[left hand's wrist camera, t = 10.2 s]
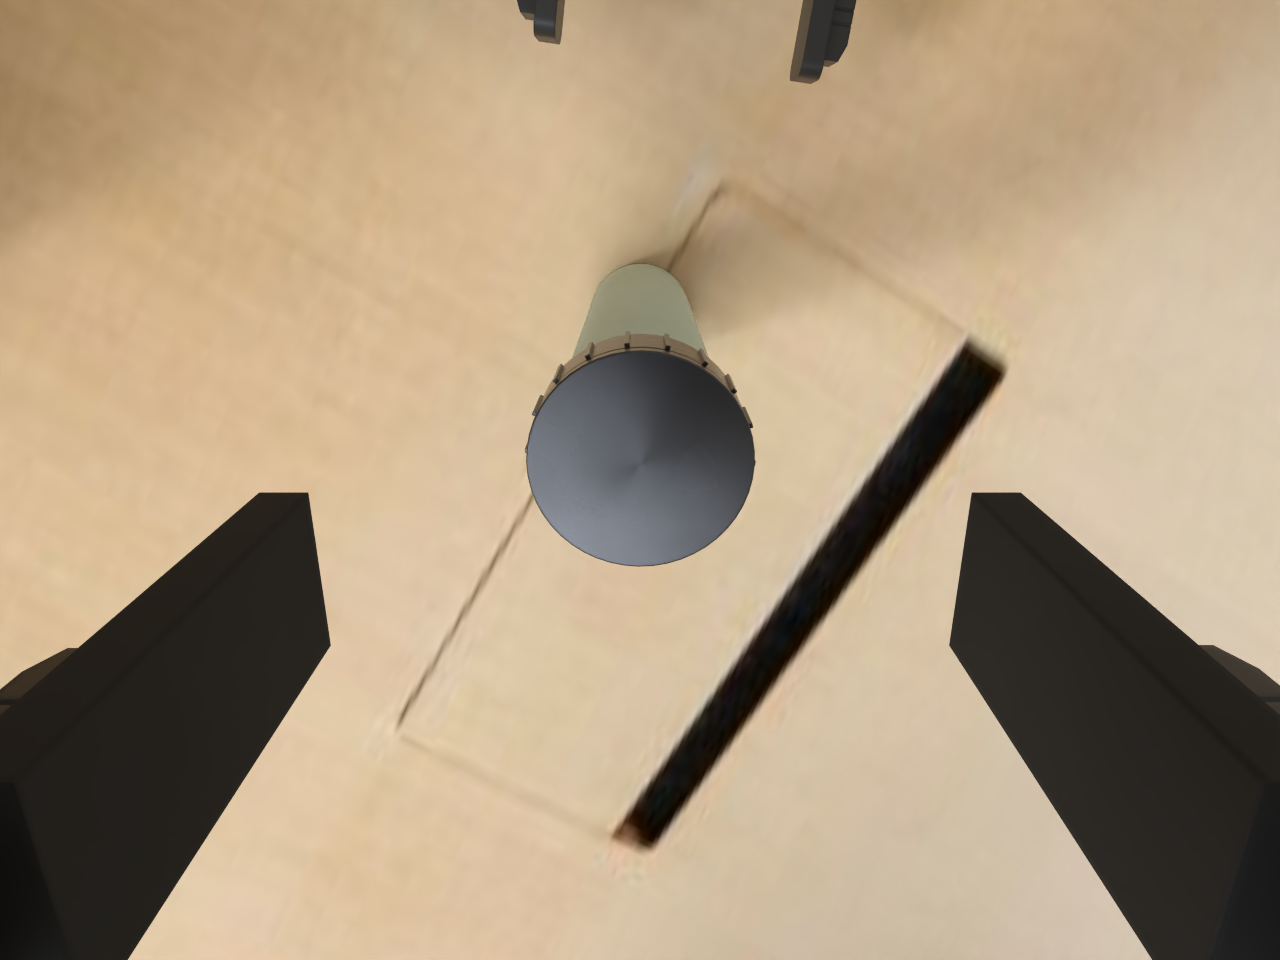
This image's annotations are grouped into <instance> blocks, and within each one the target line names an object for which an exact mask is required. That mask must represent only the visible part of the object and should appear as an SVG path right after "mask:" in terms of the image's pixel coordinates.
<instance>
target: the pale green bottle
mask: <svg viewBox="0 0 1280 960" xmlns="http://www.w3.org/2000/svg"><path fill="white" fill-rule="evenodd" d="M626 331H630V334H651V335H659V336H664V333H666V334H669V338H672V339H675V340H678V341H680V342H683V343H685V344H687V345H689V346H691V347H693V348H695V349H697V350H698V351H699V349H700V348H701V349H703V350H704V352H705V355H706V356H707V357H708V355H707V352H706V349H705V346H704V343H703V341H702V338H701V335H700V332H699V329H698V327H697V324H696V321H695V318H694V316H693V313H692V310H691V307H690V304H689V302H688V299H687V296H686V294H685V292H684V289H683V288H682V286H681V285H680V283H679V282H678V281H677V280H676V279H675V278H674V277H673V276H672V275H671V274H670V273H668V272H667V271H665V270H663V269H662V268H659V267H657V266H654V265H649V264H631V265H627V266H624V267H621V268H619V269H617V270H615V271H614V272H612V273H611V274H609V275H608V276H607V277H606V278H605V279H604V280H603V281H602V283H601V284H600V285H599V287H598V289H597V291H596V293H595V295H594V298H593V300H592V303H591V306H590V309H589V312H588V315H587V317H586V320H585V323H584V326H583V329H582V332H581V334H580V337H579V340H578V343H577V346H576V348H575V351H574V354H573V357H574V356H575V355H577V354H578V353H580V352H581V351H583V350H585V349H586V348H587V346H588V343H590V342H593V344H596V343H598V342H600V341H603V340H606V339H609V338H613V337H617V336H622V335H625V332H626ZM573 357H572V358H573ZM708 358H709V357H708Z"/></svg>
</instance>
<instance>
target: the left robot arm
mask: <svg viewBox="0 0 1280 960" xmlns="http://www.w3.org/2000/svg"><path fill="white" fill-rule="evenodd" d="M330 646H331V644H330V637H329V631H328V624H327V617H326V610H325V604H324V597H323V590H322V583H321V576H320V570H319V563H318V556H317V549H316V542H315V536H314V529H313V522H312V515H311V509H310V502H309V495H308V493H258V494H257V495H256V496H255V497H254V498H253V499H251V500H250V501H249V502H248V503H247V504H246V505H244V506H243V507H242V508H241V509H240V510H239V511H237V512H236V513H235V514H234V515H233V516H232V517H230V518H229V519H228V520H227V521H226V522H225V523H223V524H222V525H221V526H220V527H219V528H218V529H216V530H215V531H214V532H213V533H212V534H211V535H209V536H208V537H207V538H206V539H205V540H204V541H202V542H201V543H200V544H199V545H198V546H197V547H195V548H194V549H193V550H192V551H191V552H190V553H188V554H187V555H186V556H185V557H184V558H183V559H181V560H180V561H179V562H178V563H177V564H176V565H174V566H173V567H172V568H171V569H170V570H169V571H167V572H166V573H165V574H164V575H163V576H162V577H160V578H159V579H158V580H157V581H156V582H155V583H153V584H152V585H151V586H150V587H149V588H148V589H146V590H145V591H144V592H143V593H142V594H141V595H139V596H138V597H137V598H136V599H135V600H134V601H132V602H131V603H130V604H129V605H128V606H127V607H125V608H124V609H123V610H122V611H121V612H120V613H118V614H117V615H116V616H115V617H114V618H113V619H111V620H110V621H109V622H108V623H107V624H106V625H104V626H103V627H102V628H101V629H100V630H99V631H97V632H96V633H95V634H94V635H93V636H92V637H90V638H89V639H88V640H87V641H86V642H85V643H83V644H82V645H81V646H80V647H79V648H67V649H65V650H63V651H61V652H59V653H57V654H55V655H53V656H52V657H50V658H48V659H46V660H44V661H42V662H40V663H38V664H36V665H34V666H32V667H30V668H28V669H26V670H24V671H23V672H21V673H20V674H19V675H17V676H16V677H15V678H14V679H13V680H11V681H10V682H9V683H8V684H6V685H5V686H4V687H3V688H1V689H0V960H128V958H129V957H130V955H131V954H132V952H133V951H134V949H135V947H136V946H137V944H138V943H139V941H140V940H141V938H142V937H143V935H144V934H145V932H146V930H147V929H148V927H149V926H150V924H151V923H152V921H153V920H154V918H155V917H156V915H157V913H158V912H159V910H160V909H161V907H162V906H163V904H164V903H165V901H166V899H167V898H168V896H169V895H170V893H171V892H172V890H173V889H174V887H175V886H176V884H177V882H178V881H179V879H180V878H181V876H182V875H183V873H184V872H185V870H186V869H187V867H188V865H189V864H190V862H191V861H192V859H193V858H194V856H195V855H196V853H197V851H198V850H199V848H200V847H201V845H202V844H203V842H204V841H205V839H206V838H207V836H208V834H209V833H210V831H211V830H212V828H213V827H214V825H215V824H216V822H217V821H218V819H219V817H220V816H221V814H222V813H223V811H224V810H225V808H226V807H227V805H228V803H229V802H230V800H231V799H232V797H233V796H234V794H235V793H236V791H237V790H238V788H239V786H240V785H241V783H242V782H243V780H244V779H245V777H246V776H247V774H248V773H249V771H250V769H251V768H252V766H253V765H254V763H255V762H256V760H257V759H258V757H259V755H260V754H261V752H262V751H263V749H264V748H265V746H266V745H267V743H268V742H269V740H270V738H271V737H272V735H273V734H274V732H275V731H276V729H277V728H278V726H279V725H280V723H281V721H282V720H283V718H284V717H285V715H286V714H287V712H288V711H289V709H290V707H291V706H292V704H293V703H294V701H295V700H296V698H297V697H298V695H299V694H300V692H301V690H302V689H303V687H304V686H305V684H306V683H307V681H308V680H309V678H310V677H311V675H312V673H313V672H314V670H315V669H316V667H317V666H318V664H319V663H320V661H321V659H322V658H323V656H324V655H325V653H326V652H327V650H328V649H329V647H330ZM949 646H950V647H951V649H952V650H953V652H954V653H955V655H956V656H957V658H958V659H959V661H960V663H961V664H962V666H963V667H964V669H965V670H966V672H967V673H968V675H969V677H970V678H971V680H972V681H973V683H974V684H975V686H976V687H977V689H978V690H979V692H980V694H981V695H982V697H983V698H984V700H985V701H986V703H987V704H988V706H989V707H990V709H991V711H992V712H993V714H994V715H995V717H996V718H997V720H998V721H999V723H1000V725H1001V726H1002V728H1003V729H1004V731H1005V732H1006V734H1007V735H1008V737H1009V738H1010V740H1011V742H1012V743H1013V745H1014V746H1015V748H1016V749H1017V751H1018V752H1019V754H1020V755H1021V757H1022V759H1023V760H1024V762H1025V763H1026V765H1027V766H1028V768H1029V769H1030V771H1031V773H1032V774H1033V776H1034V777H1035V779H1036V780H1037V782H1038V783H1039V785H1040V786H1041V788H1042V790H1043V791H1044V793H1045V794H1046V796H1047V797H1048V799H1049V800H1050V802H1051V803H1052V805H1053V807H1054V808H1055V810H1056V811H1057V813H1058V814H1059V816H1060V817H1061V819H1062V821H1063V822H1064V824H1065V825H1066V827H1067V828H1068V830H1069V831H1070V833H1071V834H1072V836H1073V838H1074V839H1075V841H1076V842H1077V844H1078V845H1079V847H1080V848H1081V850H1082V851H1083V853H1084V855H1085V856H1086V858H1087V859H1088V861H1089V862H1090V864H1091V865H1092V867H1093V869H1094V870H1095V872H1096V873H1097V875H1098V876H1099V878H1100V879H1101V881H1102V882H1103V884H1104V886H1105V887H1106V889H1107V890H1108V892H1109V893H1110V895H1111V896H1112V898H1113V899H1114V901H1115V903H1116V904H1117V906H1118V907H1119V909H1120V910H1121V912H1122V913H1123V915H1124V917H1125V918H1126V920H1127V921H1128V923H1129V924H1130V926H1131V927H1132V929H1133V930H1134V932H1135V934H1136V935H1137V937H1138V938H1139V940H1140V941H1141V943H1142V944H1143V946H1144V947H1145V949H1146V951H1147V952H1148V954H1149V955H1150V957H1151V958H1152V960H1280V685H1278V684H1277V683H1276V682H1275V681H1273V680H1272V679H1271V678H1270V677H1269V676H1267V675H1266V674H1265V673H1264V672H1262V671H1261V670H1260V669H1258V668H1257V667H1255V666H1253V665H1251V664H1249V663H1247V662H1245V661H1243V660H1241V659H1239V658H1237V657H1235V656H1233V655H1231V654H1229V653H1227V652H1225V651H1223V650H1221V649H1220V648H1218V647H1216V646H1214V645H1198V644H1197V643H1195V642H1194V641H1193V640H1192V639H1191V638H1190V637H1188V636H1187V635H1186V634H1185V633H1184V632H1183V631H1181V630H1180V629H1179V628H1178V627H1177V626H1176V625H1174V624H1173V623H1172V622H1171V621H1170V620H1169V619H1167V618H1166V617H1165V616H1164V615H1163V614H1162V613H1160V612H1159V611H1158V610H1157V609H1156V608H1155V607H1153V606H1152V605H1151V604H1150V603H1149V602H1148V601H1146V600H1145V599H1144V598H1143V597H1142V596H1141V595H1139V594H1138V593H1137V592H1136V591H1135V590H1134V589H1132V588H1131V587H1130V586H1129V585H1128V584H1127V583H1125V582H1124V581H1123V580H1122V579H1121V578H1120V577H1118V576H1117V575H1116V574H1115V573H1114V572H1113V571H1111V570H1110V569H1109V568H1108V567H1107V566H1106V565H1104V564H1103V563H1102V562H1101V561H1100V560H1099V559H1097V558H1096V557H1095V556H1094V555H1093V554H1092V553H1090V552H1089V551H1088V550H1087V549H1086V548H1085V547H1083V546H1082V545H1081V544H1080V543H1079V542H1078V541H1076V540H1075V539H1074V538H1073V537H1072V536H1071V535H1069V534H1068V533H1067V532H1066V531H1065V530H1064V529H1062V528H1061V527H1060V526H1059V525H1058V524H1057V523H1055V522H1054V521H1053V520H1052V519H1051V518H1050V517H1048V516H1047V515H1046V514H1045V513H1044V512H1043V511H1041V510H1040V509H1039V508H1038V507H1037V506H1036V505H1034V504H1033V503H1032V502H1031V501H1030V500H1029V499H1027V498H1026V497H1025V496H1024V495H1023V494H1022V493H972V495H971V502H970V509H969V515H968V522H967V529H966V536H965V543H964V549H963V556H962V563H961V570H960V576H959V583H958V590H957V597H956V604H955V610H954V617H953V624H952V631H951V637H950V644H949Z"/></svg>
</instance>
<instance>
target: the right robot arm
mask: <svg viewBox="0 0 1280 960" xmlns="http://www.w3.org/2000/svg"><path fill="white" fill-rule="evenodd" d="M517 2H518V6H519V9H520V12H521V14H522V15H523V16H524V18H525V19H528V20H534V36H535V37H536V38H537V40H538V41H540V42H547V43H553V44H560V41H561V35H562V25H563V14H564V3H565V0H517ZM855 4H856V0H803V4H802V10H801V15H800V21H799V26H798V32H797V38H796V43H795V49H794V54H793V60H792V65H791V72H790V81H795V82H802V83H809V84H811V83H813V82H815V81H817V80H819V78H820V76H821V73H822V69H823V66H826V67H829V66H831V65H833V64H835V63H836V62H838V60H839V59H840V57H841V55H842V54H843V52H844V50H845V48H846V47H847V44H848V39H849V34H850V29H851V23H852V19H853V14H854V9H855Z"/></svg>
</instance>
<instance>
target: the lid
mask: <svg viewBox="0 0 1280 960" xmlns="http://www.w3.org/2000/svg"><path fill="white" fill-rule="evenodd" d="M736 392H737V390H736V388H735V386H734V384H733V381H732V379H731V377H730V375H729V374H727V375H726V376H725V375H724V373H723V372H722V371H721V370H720V368H719V367H718V366H717V365H716V364H715V363H714V362H712V361H711V360H710V359H709V358H708V357H707V356H706V355H705V352H704V350H703V349H701V348H700V349H699V351H698V350H697V349H695V348H693V347H691V346H689V345H687V344H685V343H683V342H680V341H678V340H675V339H672V338H669V334H666V333H664V336H659V335H651V334H630V331H626V332H625V335H622V336H617V337H613V338H609V339H606V340H603V341H600V342H598V343H596V344H593V342H590V343H588V346H587V348H586V349H585V350H583V351H581V352H580V353H578V354H577V355H575V356H574V357H573V358H572V359H571V360H570V361H569V362H567V363H566V364H565V365H564V366H563V365H562V364H560V366H559V367H558V369H557V371H556V374H555V376H554V379H553V380H552V382H551V383H550V385H549V386H548V388H547V390H546V393H545V395H544V396H542V395H540V397H539V399H538V402H537V404H536V406H535V408H534V411H533V413H532V415H533V416H535V418H534V421H533V424H532V427H531V430H530V433H529V438H528V443H527V445H526V448H525V453H527V455H526V464H527V474H528V479H529V483H530V487H531V491H532V493H533V496H534V498H535V501H536V503H537V505H538V507H539V508H540V510H541V512H542V514H543V515H544V517H545V518H546V519H547V521H548V522H549V523H550V525H551V526H552V527H553V528H554V529H555V530H556V531H557V532H558V533H559V534H560V535H561V536H562V537H563V538H564V539H565V540H567V541H568V542H569V543H570V544H572V545H573V546H575V547H576V548H578V549H580V550H581V551H583V552H584V553H587V554H589V555H591V556H593V557H595V558H598V559H601V560H604V561H607V562H610V563H615V564H620V565H626V566H655V565H661V564H667V563H670V562H674V561H677V560H681V559H683V558H685V557H688V556H690V555H692V554H695V553H696V552H698V551H700V550H701V549H703V548H705V547H706V546H708V545H709V544H710V543H712V542H713V541H714V540H716V539H717V538H718V537H719V536H720V535H721V534H722V533H723V532H724V531H725V530H726V529H727V528H728V527H729V526H730V525H731V523H732V522H733V521H734V520H735V518H736V517H737V515H738V514H739V512H740V510H741V509H742V507H743V505H744V503H745V501H746V498H747V496H748V494H749V491H750V487H751V483H752V480H753V473H754V466H755V450H754V443H753V437H752V433H751V430H750V428H753V425H752V422H751V420H750V418H749V415H748V413H747V411H746V408H745V407H742V406H741V404H740V402H739V399H738V397H737V395H736Z"/></svg>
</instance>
